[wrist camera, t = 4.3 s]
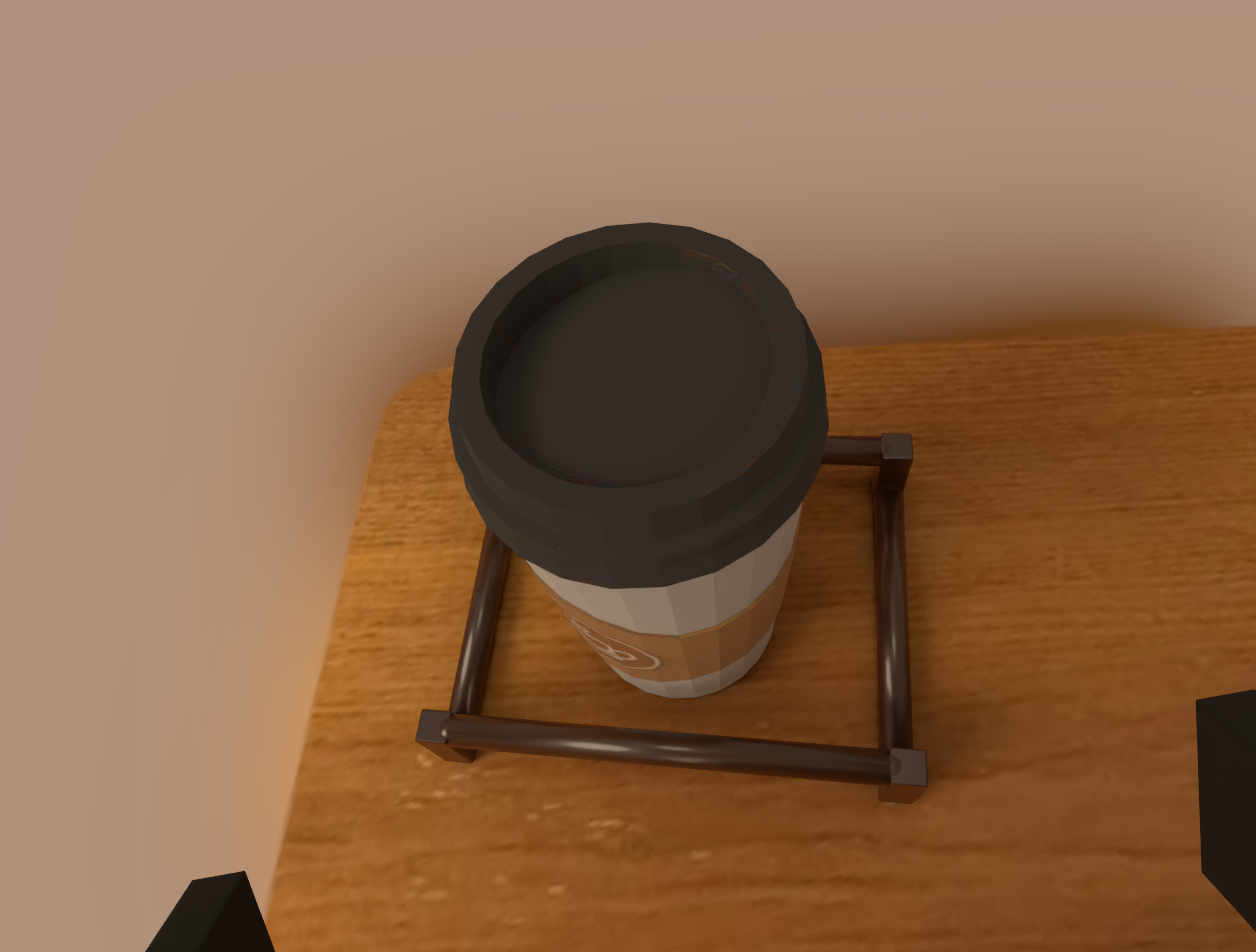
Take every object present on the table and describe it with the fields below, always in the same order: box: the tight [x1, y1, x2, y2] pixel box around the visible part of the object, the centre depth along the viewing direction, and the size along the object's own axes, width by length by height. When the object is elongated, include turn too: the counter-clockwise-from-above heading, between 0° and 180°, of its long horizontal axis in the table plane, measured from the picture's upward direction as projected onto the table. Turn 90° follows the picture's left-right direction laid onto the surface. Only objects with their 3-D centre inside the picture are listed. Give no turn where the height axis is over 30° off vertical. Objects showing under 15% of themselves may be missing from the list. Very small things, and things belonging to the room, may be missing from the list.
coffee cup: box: [448, 222, 829, 698], centre depth 25 cm, size 8×8×15 cm
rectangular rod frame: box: [415, 433, 928, 804], centre depth 30 cm, size 15×11×3 cm
